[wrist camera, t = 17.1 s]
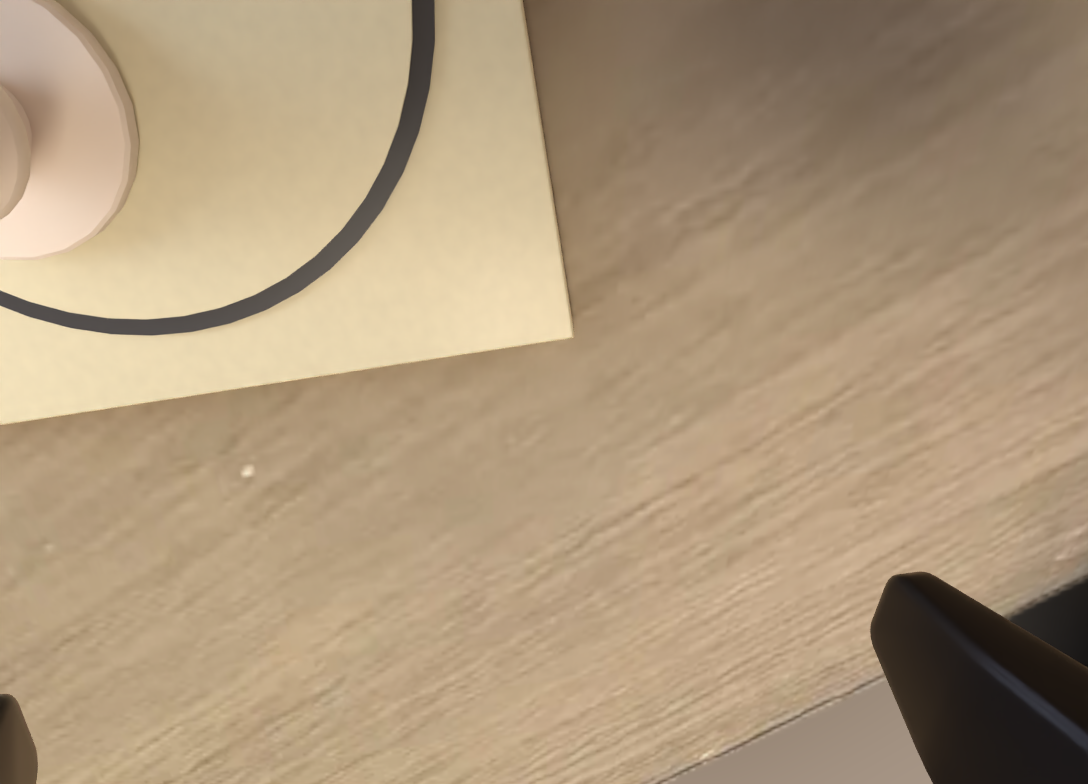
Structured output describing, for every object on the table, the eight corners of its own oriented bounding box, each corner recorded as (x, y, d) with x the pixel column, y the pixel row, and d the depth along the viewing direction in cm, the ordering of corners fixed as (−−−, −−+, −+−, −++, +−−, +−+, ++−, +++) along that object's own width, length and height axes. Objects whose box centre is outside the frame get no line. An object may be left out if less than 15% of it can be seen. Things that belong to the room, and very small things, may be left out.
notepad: (573, 329, 20) (575, 342, 19) (-111, 433, 21) (-134, 449, 20) (416, -683, 13) (410, -723, 12) (-584, -462, 14) (-646, -486, 13)
